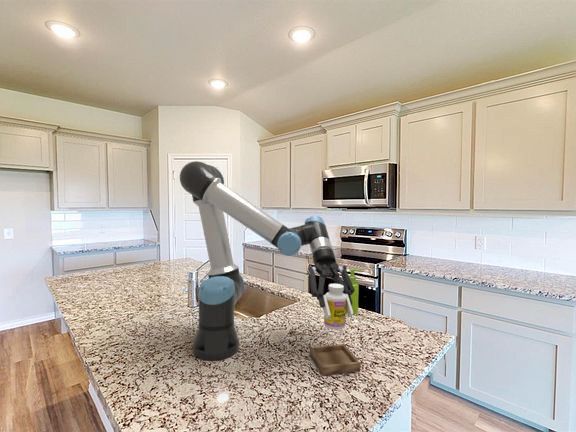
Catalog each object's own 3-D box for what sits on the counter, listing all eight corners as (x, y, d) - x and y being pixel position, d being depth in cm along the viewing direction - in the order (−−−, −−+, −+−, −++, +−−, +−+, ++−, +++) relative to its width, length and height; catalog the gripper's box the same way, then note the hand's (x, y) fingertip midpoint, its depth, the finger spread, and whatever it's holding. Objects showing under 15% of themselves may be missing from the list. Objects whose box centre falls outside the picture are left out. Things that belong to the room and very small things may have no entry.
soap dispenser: (360, 315, 133) (361, 271, 132) (344, 313, 134) (346, 270, 133) (360, 310, 139) (361, 268, 138) (345, 309, 140) (346, 267, 139)
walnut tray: (322, 375, 86) (322, 367, 86) (309, 354, 97) (309, 347, 97) (360, 371, 88) (360, 363, 88) (343, 351, 100) (343, 344, 100)
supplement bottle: (332, 332, 88) (333, 289, 88) (319, 323, 94) (321, 284, 93) (349, 328, 91) (351, 287, 91) (336, 320, 97) (338, 281, 97)
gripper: (344, 258, 109) (364, 319, 94) (293, 259, 105) (305, 323, 89) (351, 246, 104) (373, 308, 89) (298, 247, 99) (311, 312, 84)
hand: (339, 316), depth 89 cm, fingers closed on supplement bottle, 7 cm apart
